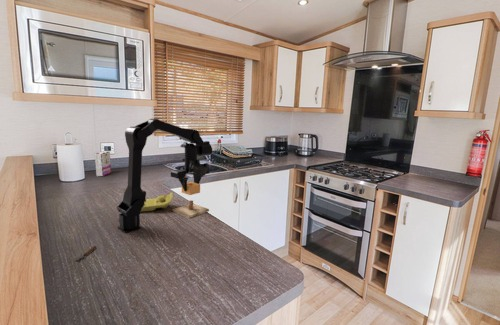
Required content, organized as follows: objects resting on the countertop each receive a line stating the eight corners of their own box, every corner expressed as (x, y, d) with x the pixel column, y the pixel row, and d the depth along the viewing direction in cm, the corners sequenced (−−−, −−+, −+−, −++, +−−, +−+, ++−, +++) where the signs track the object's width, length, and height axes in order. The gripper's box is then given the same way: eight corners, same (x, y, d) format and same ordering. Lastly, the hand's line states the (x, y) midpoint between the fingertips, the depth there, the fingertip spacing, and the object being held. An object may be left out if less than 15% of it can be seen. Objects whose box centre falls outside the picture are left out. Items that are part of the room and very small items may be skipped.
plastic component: (126, 208, 120) (130, 193, 128) (130, 219, 125) (133, 204, 133) (172, 204, 124) (172, 189, 132) (173, 215, 128) (174, 200, 136)
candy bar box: (104, 173, 195) (103, 150, 192) (111, 173, 195) (110, 151, 192) (95, 176, 184) (94, 153, 181) (102, 176, 184) (101, 153, 181)
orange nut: (190, 195, 121) (190, 186, 120) (181, 192, 124) (181, 184, 124) (200, 192, 125) (200, 184, 125) (191, 190, 129) (191, 182, 128)
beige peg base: (189, 217, 118) (189, 207, 117) (172, 211, 125) (172, 201, 124) (208, 211, 127) (209, 201, 127) (192, 205, 135) (192, 195, 134)
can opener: (93, 248, 89) (93, 245, 89) (99, 249, 89) (99, 246, 89) (71, 263, 80) (71, 259, 80) (78, 264, 80) (78, 260, 80)
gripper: (186, 161, 110) (185, 197, 112) (218, 157, 124) (217, 189, 127) (169, 157, 116) (169, 192, 119) (201, 154, 131) (201, 185, 134)
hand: (190, 189), depth 125 cm, fingers closed on orange nut, 6 cm apart
